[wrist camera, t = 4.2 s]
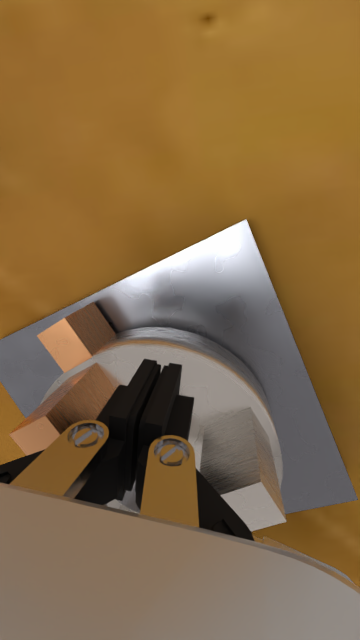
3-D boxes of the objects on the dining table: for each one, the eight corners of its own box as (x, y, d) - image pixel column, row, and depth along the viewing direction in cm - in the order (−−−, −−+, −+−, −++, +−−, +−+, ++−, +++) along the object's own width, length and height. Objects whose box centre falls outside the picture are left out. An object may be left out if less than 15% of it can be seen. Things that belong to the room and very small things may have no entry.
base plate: (345, 473, 19) (390, 565, 14) (122, 522, 24) (94, 605, 19) (243, 220, 15) (253, 216, 10) (2, 338, 20) (-78, 378, 15)
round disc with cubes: (311, 470, 17) (367, 626, 10) (137, 526, 21) (95, 667, 14) (178, 247, 14) (137, 264, 7) (4, 358, 18) (-127, 435, 11)
